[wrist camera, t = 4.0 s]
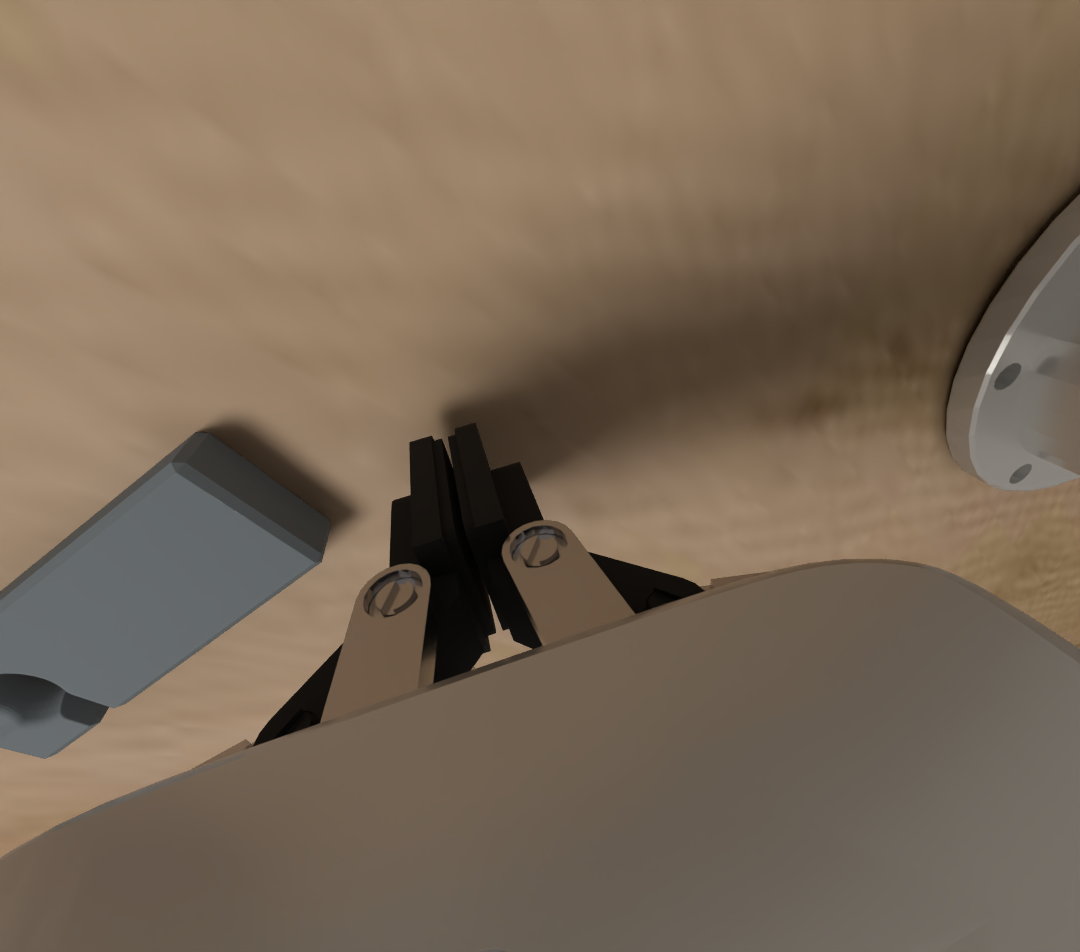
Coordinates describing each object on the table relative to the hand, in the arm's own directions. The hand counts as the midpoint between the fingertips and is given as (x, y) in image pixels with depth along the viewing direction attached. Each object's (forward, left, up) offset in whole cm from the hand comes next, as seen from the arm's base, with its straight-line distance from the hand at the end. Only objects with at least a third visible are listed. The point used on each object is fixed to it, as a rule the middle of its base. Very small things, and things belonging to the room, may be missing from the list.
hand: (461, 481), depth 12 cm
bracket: (+9, +1, -2) cm, 10 cm away
